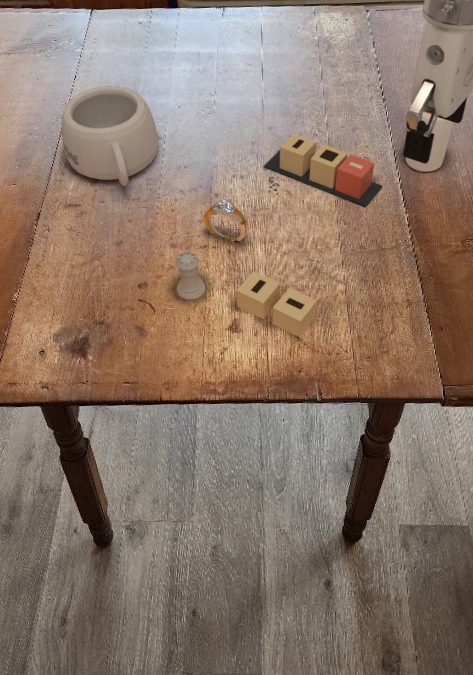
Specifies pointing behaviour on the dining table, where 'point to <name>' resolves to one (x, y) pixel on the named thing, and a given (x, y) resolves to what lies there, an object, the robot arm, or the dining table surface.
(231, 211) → the ring
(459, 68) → the robot arm
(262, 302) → the slotted blocks
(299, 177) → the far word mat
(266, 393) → the dining table surface
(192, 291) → the rook chess piece
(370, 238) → the dining table surface
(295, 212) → the dining table surface
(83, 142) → the mug
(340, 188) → the red block
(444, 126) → the can
